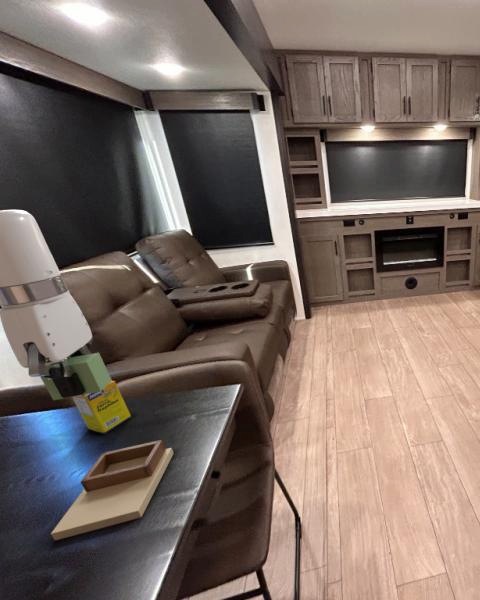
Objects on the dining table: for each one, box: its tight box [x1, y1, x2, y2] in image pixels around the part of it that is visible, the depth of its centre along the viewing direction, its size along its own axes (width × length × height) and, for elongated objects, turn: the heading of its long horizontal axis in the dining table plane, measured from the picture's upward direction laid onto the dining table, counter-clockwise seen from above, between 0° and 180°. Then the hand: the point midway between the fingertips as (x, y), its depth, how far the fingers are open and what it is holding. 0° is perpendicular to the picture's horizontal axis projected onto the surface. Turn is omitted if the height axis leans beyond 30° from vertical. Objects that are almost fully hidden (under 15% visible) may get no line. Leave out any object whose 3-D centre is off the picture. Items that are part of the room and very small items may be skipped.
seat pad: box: [50, 439, 175, 541], centre depth 57 cm, size 14×12×4 cm
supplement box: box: [71, 380, 132, 435], centre depth 74 cm, size 6×6×11 cm
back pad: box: [39, 352, 113, 401], centre depth 56 cm, size 4×7×6 cm, turn 105°
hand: (82, 387), depth 57 cm, fingers closed on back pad, 3 cm apart
